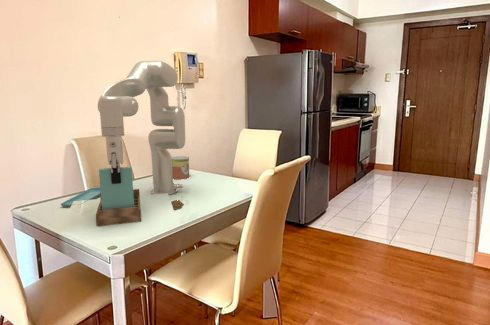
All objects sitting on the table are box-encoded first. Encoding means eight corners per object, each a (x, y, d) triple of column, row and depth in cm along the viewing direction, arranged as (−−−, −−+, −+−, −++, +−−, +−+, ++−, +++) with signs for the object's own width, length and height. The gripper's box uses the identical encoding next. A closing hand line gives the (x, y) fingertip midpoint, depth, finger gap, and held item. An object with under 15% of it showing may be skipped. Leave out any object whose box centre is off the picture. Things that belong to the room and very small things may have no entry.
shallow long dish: (80, 209, 149) (79, 203, 148) (60, 208, 150) (59, 203, 149) (109, 192, 174) (108, 188, 174) (91, 192, 175) (91, 187, 175)
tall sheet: (134, 208, 130) (131, 166, 127) (134, 210, 128) (131, 167, 125) (103, 211, 127) (99, 168, 124) (102, 213, 125) (98, 170, 122)
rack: (140, 209, 146) (139, 188, 145) (141, 225, 128) (140, 201, 126) (101, 213, 142) (100, 192, 140) (97, 230, 123) (95, 206, 122)
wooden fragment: (166, 220, 134) (166, 217, 134) (140, 217, 137) (140, 215, 136) (191, 201, 159) (191, 199, 159) (169, 199, 161) (169, 197, 161)
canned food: (180, 180, 197) (179, 160, 195) (166, 178, 203) (165, 158, 201) (193, 177, 206) (192, 157, 204) (179, 174, 212) (178, 155, 210)
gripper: (123, 133, 116) (127, 186, 119) (124, 129, 131) (127, 177, 134) (99, 134, 114) (103, 188, 117) (103, 130, 129) (107, 178, 132)
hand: (116, 182), depth 126 cm, fingers closed on tall sheet, 2 cm apart
